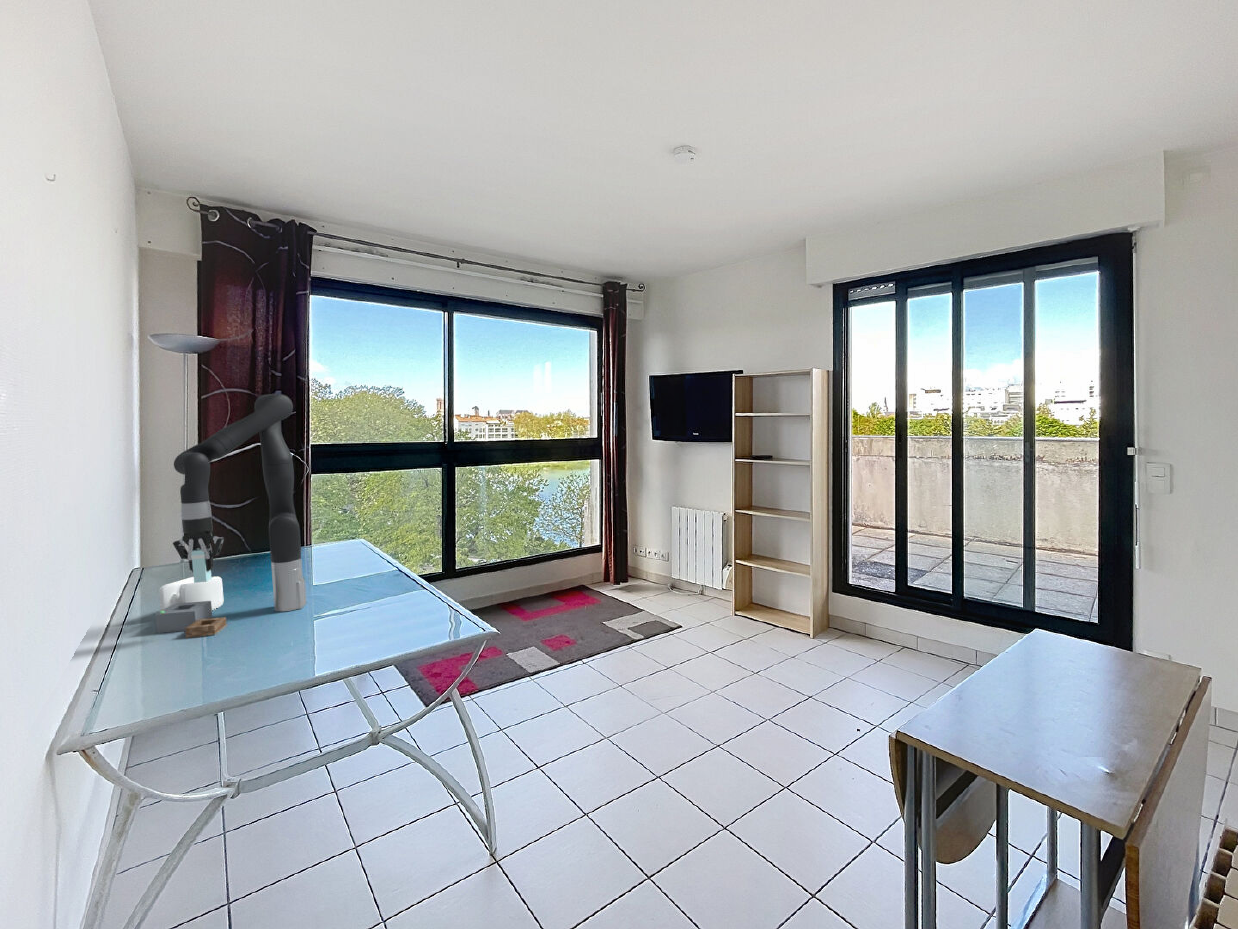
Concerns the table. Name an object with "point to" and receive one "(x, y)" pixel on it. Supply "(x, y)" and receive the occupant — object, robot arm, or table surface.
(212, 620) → the brown wooden square block
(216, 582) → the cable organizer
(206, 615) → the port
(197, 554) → the pale turquoise box
